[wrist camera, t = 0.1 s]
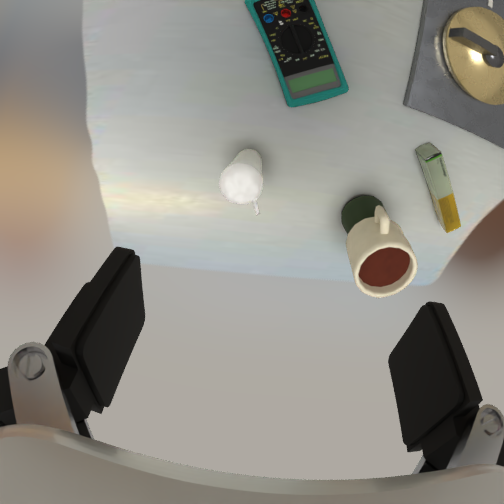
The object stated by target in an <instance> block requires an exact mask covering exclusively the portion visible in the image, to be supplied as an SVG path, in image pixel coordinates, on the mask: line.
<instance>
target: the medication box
mask: <svg viewBox="0 0 504 504" xmlns="http://www.w3.org/2000/svg"><path fill="white" fill-rule="evenodd" d="M415 151H416V153H417V156H418V158H419V161H420V164H421V167H422V170H423V173H424V176H425V179H426V182H427V185H428V188H429V191H430V194H431V197H432V201H433V204H434V207H435V211H436V214H437V217H438V220H439V222H440V224H441V226H442V227H443V229H444V230H445V231H446V233H448V232H451V231H453V230H455V229H457V228H459V227H461V224H460V219H459V215H458V210H457V206H456V202H455V198H454V194H453V190H452V187H451V183H450V180H449V176H448V173H447V169H446V166H445V163H444V159H443V156H442V154H441V151H440V150H438V149H437V148H436V147H435V146H434V145H432V144H431V143H426V144H423V145H421V146H419V147H418V148H416V149H415Z"/></svg>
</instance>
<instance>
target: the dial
mask: <svg viewBox="0 0 504 504" xmlns="http://www.w3.org/2000/svg"><path fill="white" fill-rule="evenodd" d="M443 51H444V56H445V60H446V63H447V66H448V68H449V71H450V73H451V75H452V76H453V78H454V80H455V81H456V83H457V84H458V85H459V86H460V87H461V89H462V90H463V91H465V92H466V93H467V94H468V95H469V96H471V97H473V98H474V99H476V100H479V101H481V102H484V103H487V104H491V105H501V104H504V19H503V18H502V17H500V16H499V15H498V14H496V13H495V12H493V11H491V10H489V9H486V8H482V7H468V8H463V9H460V10H458V11H456V12H455V13H454V14H452V16H451V17H450V18H449V20H448V21H447V23H446V26H445V28H444V33H443Z"/></svg>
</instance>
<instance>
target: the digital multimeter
mask: <svg viewBox="0 0 504 504" xmlns="http://www.w3.org/2000/svg"><path fill="white" fill-rule="evenodd" d="M245 4H246V6H247V8H248V10H249V11H250V13H251V15H252V17H253V19H254V21H255V23H256V25H257V27H258V29H259V32H260V34H261V36H262V38H263V40H264V42H265V44H266V47H267V49H268V52H269V54H270V57H271V59H272V62H273V64H274V67H275V69H276V72H277V75H278V78H279V81H280V84H281V87H282V90H283V93H284V96H285V99H286V102H287V105H288V106H289V107H297V106H302V105H306V104H311V103H315V102H318V101H322V100H326V99H329V98H332V97H335V96H338V95H340V94H343V93H346V92H348V90H349V89H348V85H347V82H346V80H345V77H344V75H343V72H342V69H341V67H340V65H339V62H338V60H337V57H336V55H335V52H334V50H333V47H332V44H331V42H330V39H329V37H328V34H327V32H326V30H325V27H324V24H323V22H322V19H321V16H320V14H319V11H318V9H317V6H316V4H315V1H314V0H245ZM312 8H313V9H312Z"/></svg>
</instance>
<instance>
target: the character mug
mask: <svg viewBox="0 0 504 504" xmlns="http://www.w3.org/2000/svg"><path fill="white" fill-rule="evenodd" d="M342 224H343V226H344V228H345V230H346V232H347V234H348V237H347V241H346V248H347V252H348V256H349V260H350V264H351V268H352V272H353V276H354V280H355V283H356V285H357V286H358V288H359V289H360V290H361V291H362V292H363V293H365V294H367V295H369V296H372V297H377V298H379V297H387V296H390V295H394V294H396V293H398V292H399V291H401V290H403V289H405V287H407V286H408V285H409V284H410V282H411V281H412V280H413V278H414V277H415V275H416V272H417V266H418V264H417V259H416V256H415V254H414V252H413V250H412V248H411V245H410V244H409V242H408V240H407V239H406V238H405V236H404V234H403V231H402V230H401V228H400V226H399V225H398V224H397V223H395V222H394V221H392V220H390V219H389V217H388V215H387V213H386V210H385V208H384V206H383V204H382V202H381V201H379V200H378V199H377V198H375V197H374V196H361V197H358V198H354V199H353V200H352V201H350V202H349V203H348V204H346V206H345V208H344V209H343V211H342Z"/></svg>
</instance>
